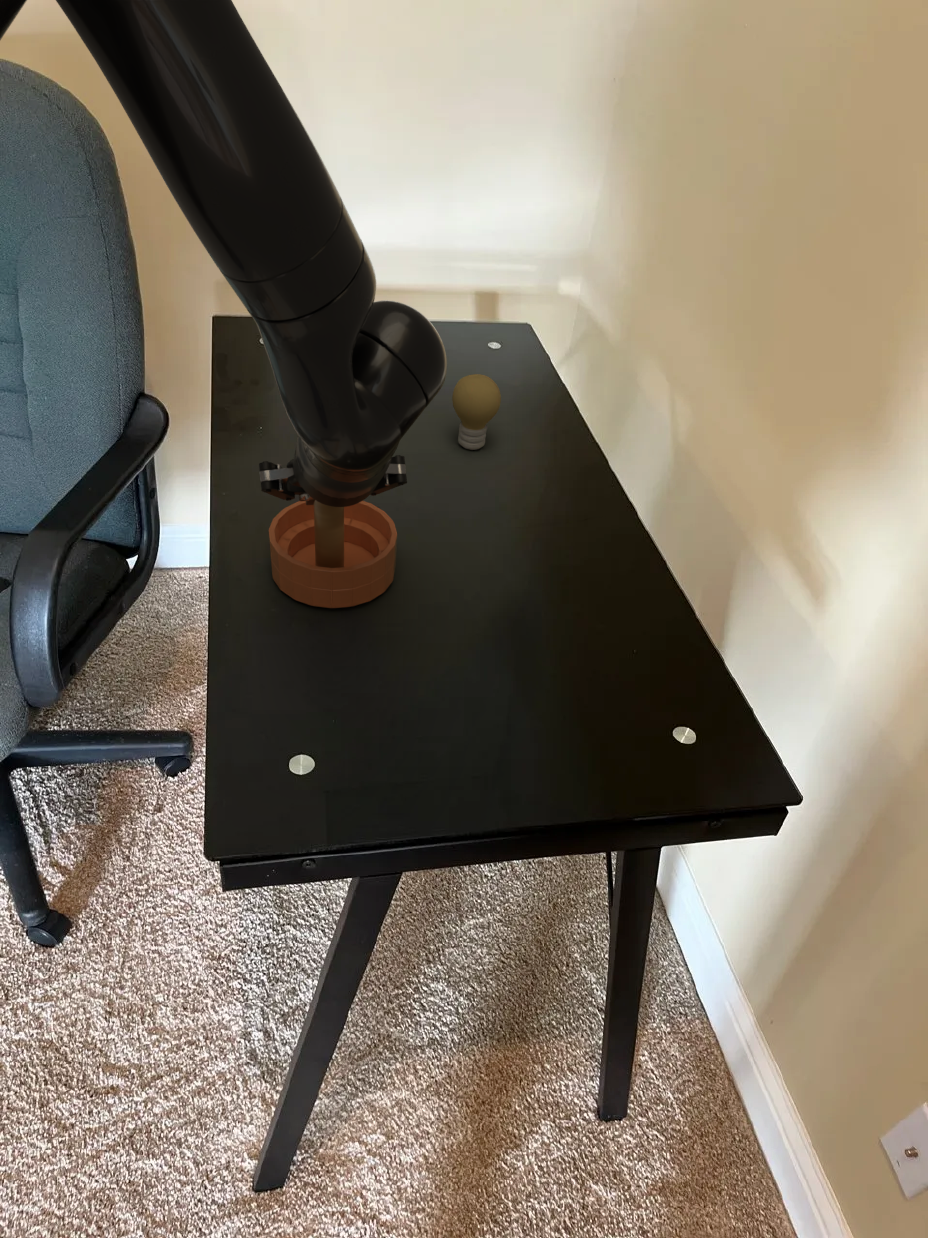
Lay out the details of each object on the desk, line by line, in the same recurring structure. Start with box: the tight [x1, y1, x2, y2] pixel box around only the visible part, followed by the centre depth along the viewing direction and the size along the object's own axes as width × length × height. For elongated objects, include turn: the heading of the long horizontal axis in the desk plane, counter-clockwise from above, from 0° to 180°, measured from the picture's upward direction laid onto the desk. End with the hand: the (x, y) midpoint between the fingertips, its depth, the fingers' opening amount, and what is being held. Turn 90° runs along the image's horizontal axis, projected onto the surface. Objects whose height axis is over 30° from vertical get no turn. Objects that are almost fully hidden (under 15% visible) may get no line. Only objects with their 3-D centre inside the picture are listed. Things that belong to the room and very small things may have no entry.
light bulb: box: [451, 373, 502, 451], centre depth 110 cm, size 6×6×10 cm
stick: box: [314, 500, 344, 568], centre depth 84 cm, size 3×3×12 cm
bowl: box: [268, 500, 398, 609], centre depth 88 cm, size 13×13×6 cm
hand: (326, 493), depth 84 cm, fingers closed on stick, 3 cm apart
